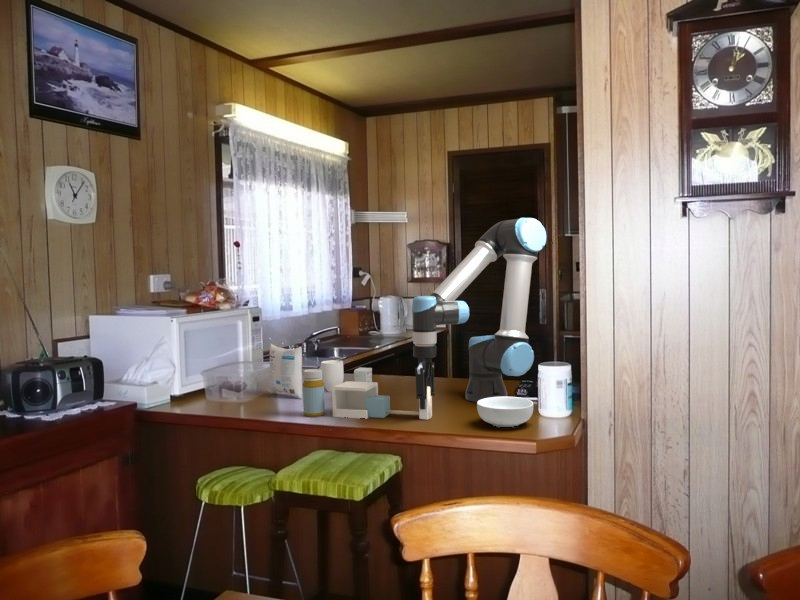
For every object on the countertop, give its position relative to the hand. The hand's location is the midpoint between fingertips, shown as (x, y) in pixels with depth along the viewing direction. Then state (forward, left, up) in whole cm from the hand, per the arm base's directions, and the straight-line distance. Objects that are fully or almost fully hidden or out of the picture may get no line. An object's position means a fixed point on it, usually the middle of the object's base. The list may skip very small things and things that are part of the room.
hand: (425, 417), depth 204 cm
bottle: (+38, +4, -1) cm, 38 cm away
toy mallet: (+9, 0, 0) cm, 9 cm away
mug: (+52, -36, -1) cm, 63 cm away
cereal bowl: (-26, +2, -1) cm, 26 cm away
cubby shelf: (+24, 0, 0) cm, 24 cm away
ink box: (+31, -21, -1) cm, 37 cm away
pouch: (+64, -22, -1) cm, 68 cm away
